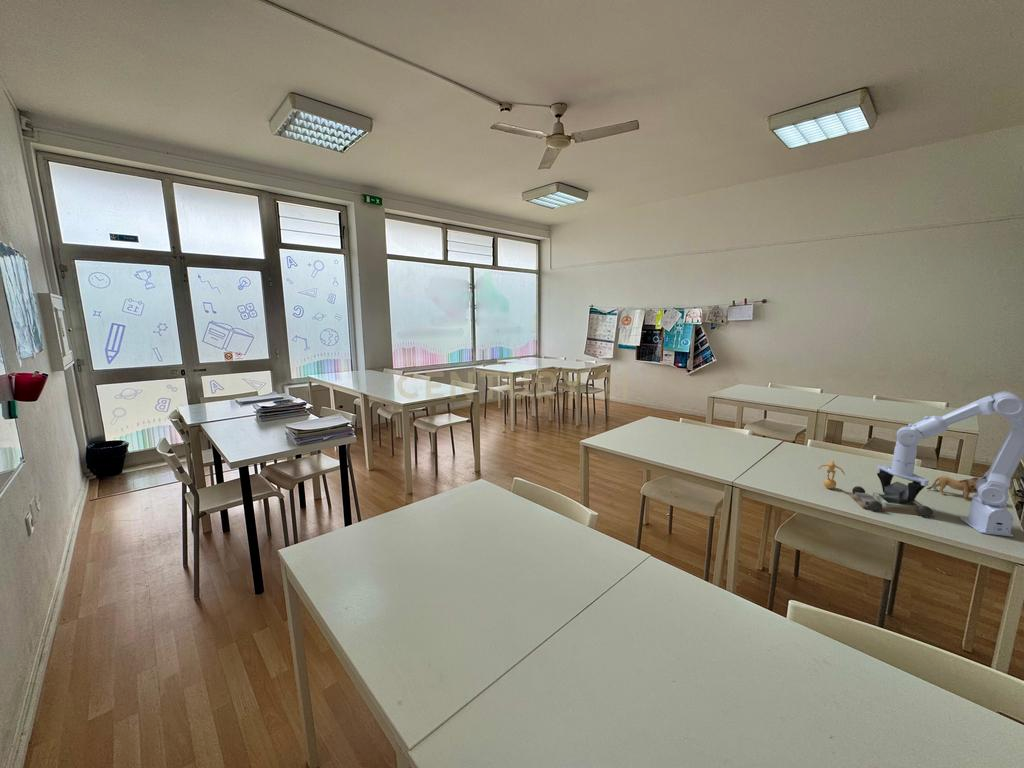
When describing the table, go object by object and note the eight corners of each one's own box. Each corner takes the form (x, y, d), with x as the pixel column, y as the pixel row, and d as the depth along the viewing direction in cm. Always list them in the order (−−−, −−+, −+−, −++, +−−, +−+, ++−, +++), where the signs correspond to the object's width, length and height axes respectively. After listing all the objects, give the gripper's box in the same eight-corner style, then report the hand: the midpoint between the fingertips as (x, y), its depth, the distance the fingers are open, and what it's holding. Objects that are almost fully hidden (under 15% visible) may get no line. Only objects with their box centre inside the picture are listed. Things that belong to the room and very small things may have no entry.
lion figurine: (982, 499, 153) (987, 476, 151) (983, 504, 149) (988, 481, 148) (926, 488, 163) (930, 466, 161) (926, 492, 159) (930, 470, 158)
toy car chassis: (936, 518, 140) (938, 508, 139) (864, 510, 146) (866, 500, 146) (912, 500, 153) (914, 491, 152) (847, 494, 159) (849, 485, 158)
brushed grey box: (910, 501, 147) (911, 487, 146) (898, 507, 146) (899, 492, 144) (896, 495, 151) (897, 481, 150) (883, 501, 150) (884, 486, 148)
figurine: (843, 489, 163) (847, 460, 161) (841, 494, 158) (845, 465, 156) (817, 483, 168) (820, 455, 166) (814, 488, 164) (818, 459, 162)
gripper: (937, 466, 140) (930, 504, 142) (888, 452, 154) (882, 486, 156) (923, 469, 138) (916, 507, 140) (874, 454, 152) (869, 489, 154)
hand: (897, 496), depth 148 cm, fingers open, 7 cm apart
